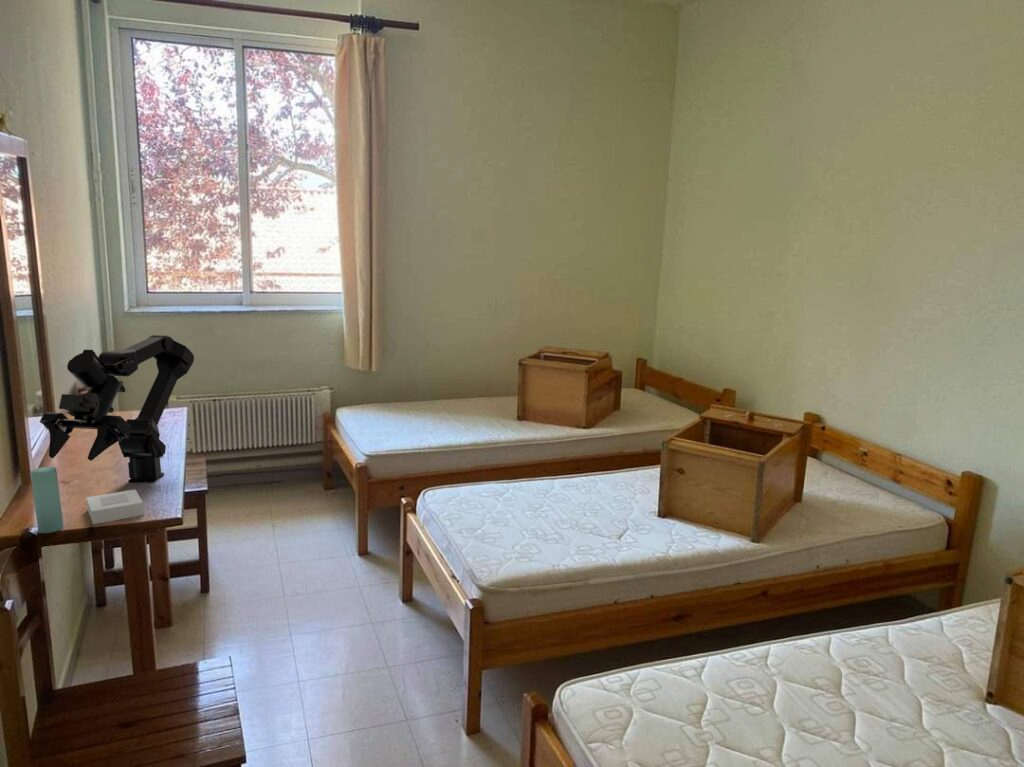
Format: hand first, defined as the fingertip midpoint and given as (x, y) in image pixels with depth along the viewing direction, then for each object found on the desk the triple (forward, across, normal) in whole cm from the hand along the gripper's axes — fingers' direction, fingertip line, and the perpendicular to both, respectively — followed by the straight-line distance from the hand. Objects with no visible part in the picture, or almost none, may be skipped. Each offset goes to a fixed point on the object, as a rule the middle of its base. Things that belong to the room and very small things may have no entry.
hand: (70, 458), depth 160 cm
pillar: (+15, 0, +4) cm, 15 cm away
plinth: (+7, +7, +12) cm, 15 cm away
